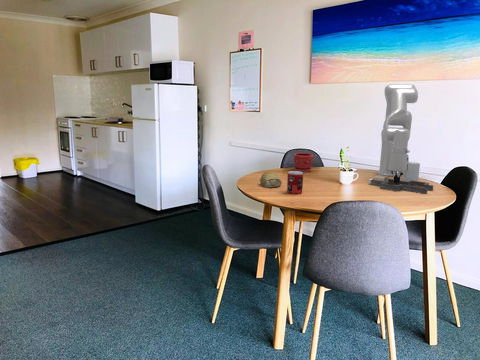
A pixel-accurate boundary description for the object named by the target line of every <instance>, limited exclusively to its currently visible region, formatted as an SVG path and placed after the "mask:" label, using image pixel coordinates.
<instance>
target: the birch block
mask: <svg viewBox="0 0 480 360" xmlns="http://www.w3.org/2000/svg"><path fill="white" fill-rule="evenodd" d="M373 178H374V180H377V181H384V182H387V184H388V179H389V176H383V175H378V174H377V175H375V176H373Z"/></svg>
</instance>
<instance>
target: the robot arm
mask: <svg viewBox="0 0 480 360" xmlns="http://www.w3.org/2000/svg"><path fill="white" fill-rule="evenodd" d="M384 98H385V100H386V107H385V108H386V109H385V116H384V118H385V119H384V121H383V127H382V130H381V135H380V136H381V148H380V159H379V160H380V161H379V169H378V171H376V174H377V176H378V175H381V176H387V177H393V181H394V183H396V184H398V183H399V182H400V181H401V177H403V175H404V174H407V171H408V168H409V162H410V159H409V154H408V153H410V150H409V149H408V143H409V140H410V136H411V129H412V123H413V122H412V121H413V120H412V119H413V117H412V115H413V114H412V112H410V111H408V108H407V107H408V105H407V104H415V103H417V101H418V98H419V92H418V89H417V88H416V86H415V84H409V83H407V84H405V83H403V84H400V83H397V84H396V83H393V84H388V85H386V86H385V88H384ZM391 126H392V127H391ZM393 126H394V127H393ZM399 126H401V127H399Z"/></svg>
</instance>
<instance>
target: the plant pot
mask: <svg viewBox="0 0 480 360" xmlns="http://www.w3.org/2000/svg"><path fill="white" fill-rule="evenodd" d="M313 161H314V155H313V154H312V153H308V152H298V153H294V154H293V162H294V163H293V164H294V171H300V172H303V173H308V172H309V173H310V171H312V168H311V167H312V165H313V163H314V162H313Z"/></svg>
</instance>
